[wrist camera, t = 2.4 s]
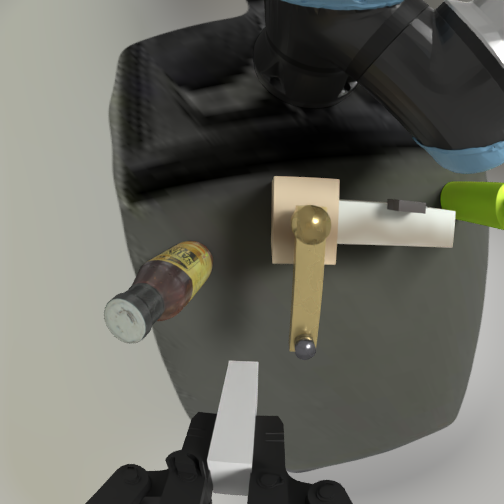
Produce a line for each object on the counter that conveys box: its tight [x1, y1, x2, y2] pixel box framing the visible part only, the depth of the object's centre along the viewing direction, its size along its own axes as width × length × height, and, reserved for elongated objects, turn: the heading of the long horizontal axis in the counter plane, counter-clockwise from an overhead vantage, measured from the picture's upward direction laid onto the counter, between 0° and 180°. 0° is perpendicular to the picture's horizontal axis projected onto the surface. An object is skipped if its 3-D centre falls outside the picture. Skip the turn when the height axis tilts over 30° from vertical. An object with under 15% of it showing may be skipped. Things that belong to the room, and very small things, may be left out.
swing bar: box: [289, 204, 331, 360], centre depth 23 cm, size 13×3×3 cm, turn 179°
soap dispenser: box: [441, 182, 504, 230], centre depth 25 cm, size 6×7×20 cm
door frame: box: [271, 176, 456, 265], centre depth 29 cm, size 8×20×15 cm, turn 89°
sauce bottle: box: [104, 241, 213, 343], centre depth 29 cm, size 7×6×20 cm
